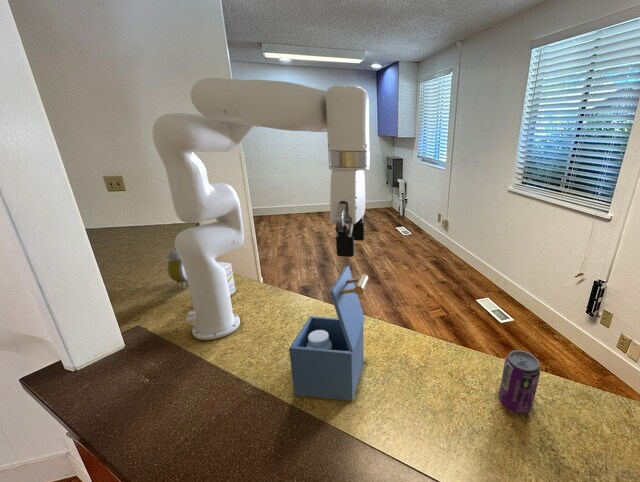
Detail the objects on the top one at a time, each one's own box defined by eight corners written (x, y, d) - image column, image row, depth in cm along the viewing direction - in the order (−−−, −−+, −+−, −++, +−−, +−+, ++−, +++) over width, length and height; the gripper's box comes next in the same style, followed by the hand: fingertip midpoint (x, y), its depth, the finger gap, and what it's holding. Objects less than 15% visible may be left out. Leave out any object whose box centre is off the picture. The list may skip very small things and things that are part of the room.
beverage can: (528, 422, 64) (539, 376, 60) (494, 406, 67) (502, 362, 63) (533, 399, 69) (544, 356, 65) (502, 386, 73) (509, 344, 69)
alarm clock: (185, 290, 113) (176, 253, 108) (167, 290, 113) (157, 252, 108) (204, 277, 124) (197, 242, 119) (187, 276, 124) (179, 242, 119)
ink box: (219, 303, 105) (214, 272, 101) (198, 300, 107) (192, 269, 103) (236, 291, 113) (231, 262, 109) (216, 288, 115) (211, 260, 111)
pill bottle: (325, 386, 71) (323, 346, 67) (302, 379, 72) (298, 341, 68) (337, 368, 76) (336, 330, 72) (316, 362, 78) (313, 325, 74)
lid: (329, 291, 59) (356, 287, 58) (345, 266, 71) (368, 262, 70) (349, 352, 63) (375, 349, 62) (361, 318, 75) (383, 315, 74)
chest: (293, 394, 69) (288, 348, 65) (313, 357, 81) (310, 315, 76) (352, 401, 68) (351, 354, 63) (363, 362, 79) (363, 320, 75)
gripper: (341, 158, 65) (344, 234, 71) (313, 164, 49) (319, 262, 54) (376, 158, 64) (376, 235, 70) (359, 165, 48) (360, 264, 54)
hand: (351, 247), depth 62 cm, fingers open, 9 cm apart
